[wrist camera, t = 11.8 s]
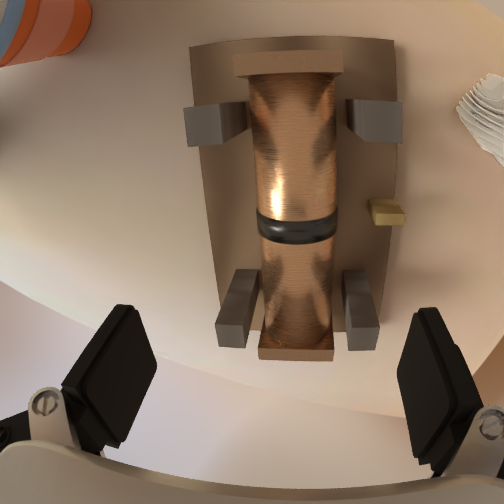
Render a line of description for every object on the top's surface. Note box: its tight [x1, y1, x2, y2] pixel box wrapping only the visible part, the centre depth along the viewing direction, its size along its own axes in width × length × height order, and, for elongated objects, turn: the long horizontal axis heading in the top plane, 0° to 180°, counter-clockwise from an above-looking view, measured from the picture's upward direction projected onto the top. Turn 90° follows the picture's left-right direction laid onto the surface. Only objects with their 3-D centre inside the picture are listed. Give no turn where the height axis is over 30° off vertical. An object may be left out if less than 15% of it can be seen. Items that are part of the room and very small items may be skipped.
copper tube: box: [233, 50, 344, 361], centre depth 21 cm, size 20×6×6 cm, turn 4°
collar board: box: [184, 36, 405, 351], centre depth 20 cm, size 14×24×8 cm, turn 4°
